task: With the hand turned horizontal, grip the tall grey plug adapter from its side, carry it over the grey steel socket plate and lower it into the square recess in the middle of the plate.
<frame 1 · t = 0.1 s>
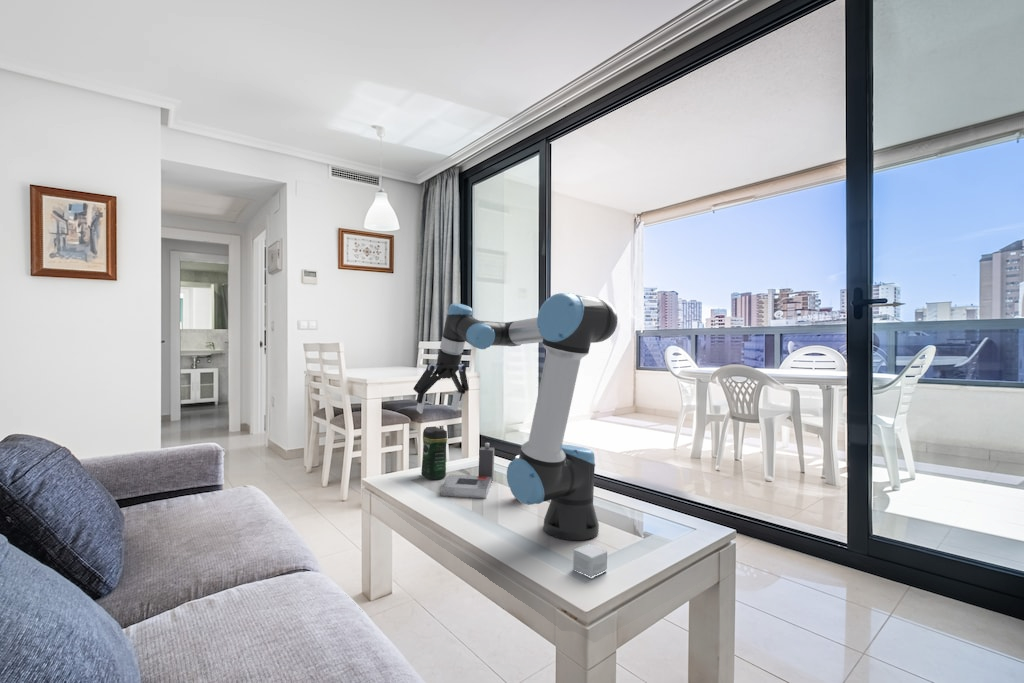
hand: (437, 410, 162), 28 cm above the table, tool tilted 20°, fingers open, 13 cm apart
small box: (589, 572, 110), on the table
socket plate: (467, 490, 167), on the table
coffee jar: (433, 477, 182), on the table
plug: (485, 481, 178), on the table
paper cup: (524, 499, 159), on the table
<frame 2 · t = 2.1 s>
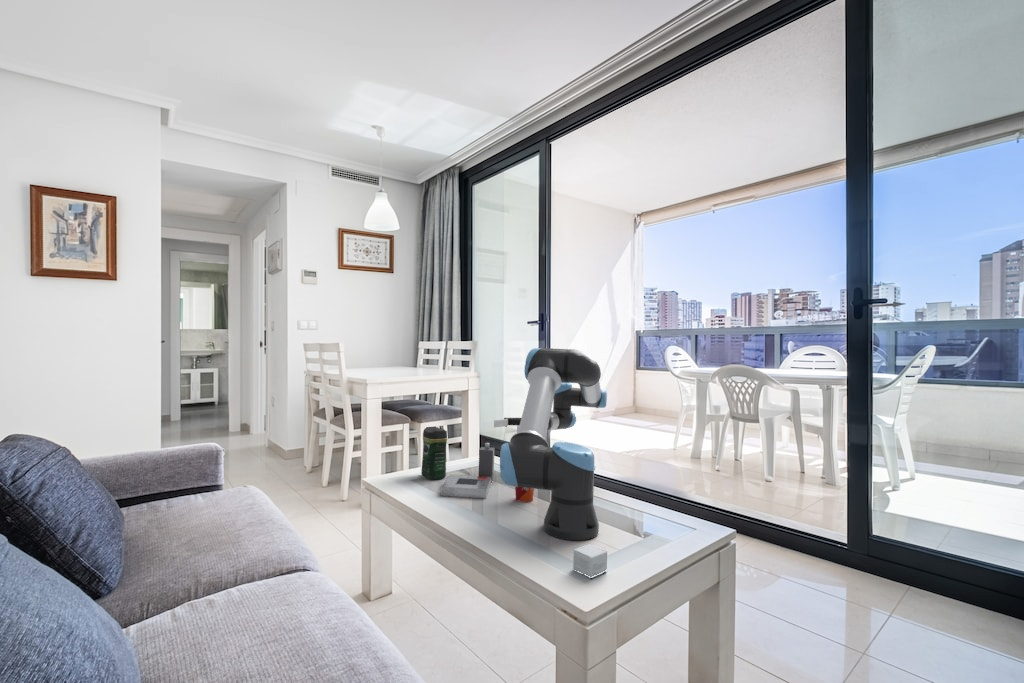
hand: (505, 426, 184), 19 cm above the table, tool horizontal, fingers open, 13 cm apart
nothing on the table moved.
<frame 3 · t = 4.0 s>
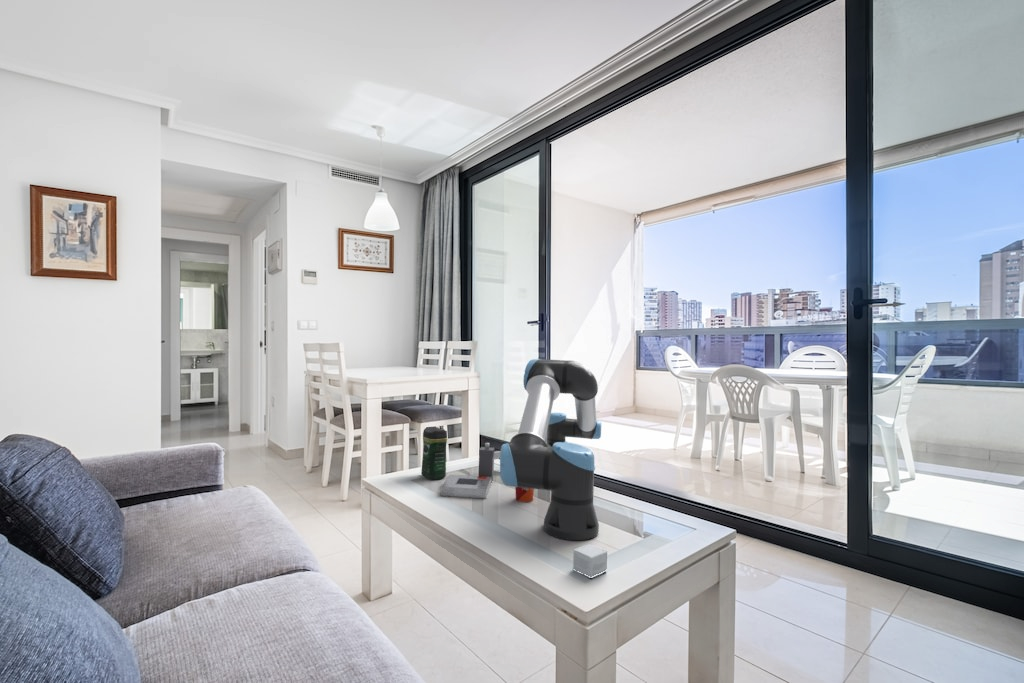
hand: (498, 460, 182), 7 cm above the table, tool horizontal, fingers open, 13 cm apart
nothing on the table moved.
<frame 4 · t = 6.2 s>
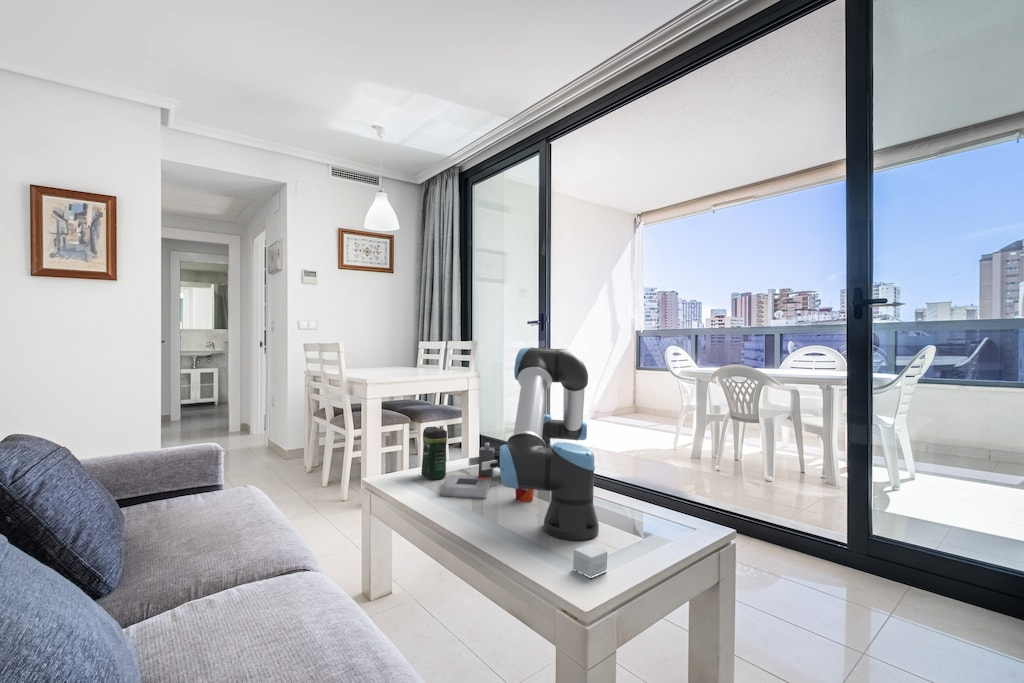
hand: (475, 464, 175), 7 cm above the table, tool horizontal, fingers closed on plug, 7 cm apart
plug: (485, 481, 178), on the table, touching gripper
everything else where it was.
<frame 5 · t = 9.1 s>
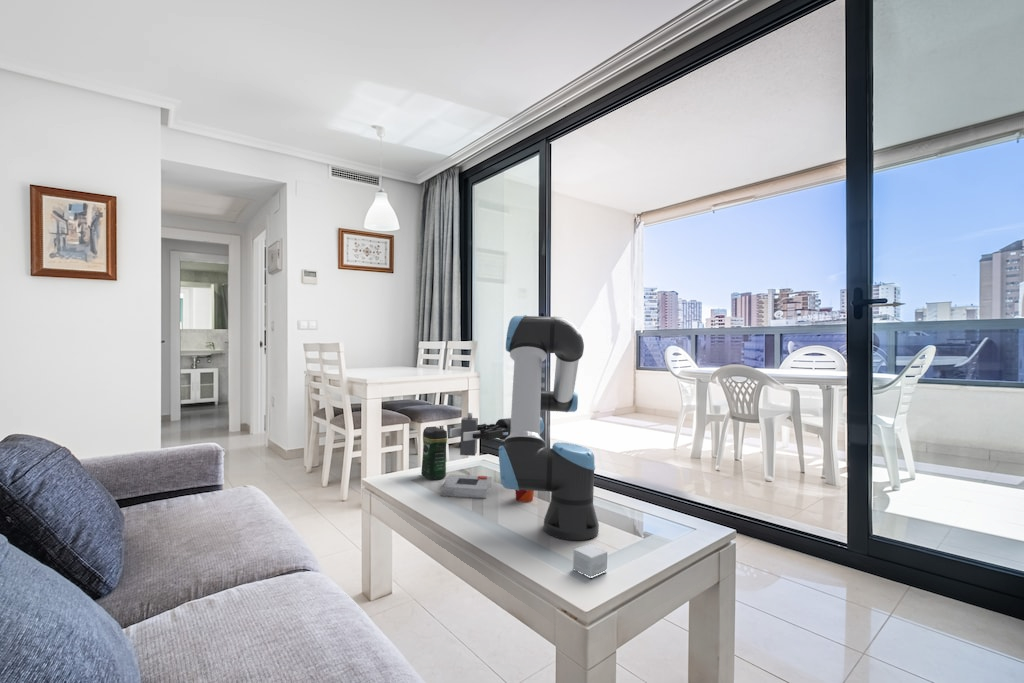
hand: (457, 434, 163), 20 cm above the table, tool horizontal, fingers closed on plug, 7 cm apart
plug: (468, 453, 167), point 13 cm above the table, touching gripper
everything else where it was.
when the fingers open (8 cm above the table, at t = 11.9 s): plug drops 1 cm, resting on socket plate.
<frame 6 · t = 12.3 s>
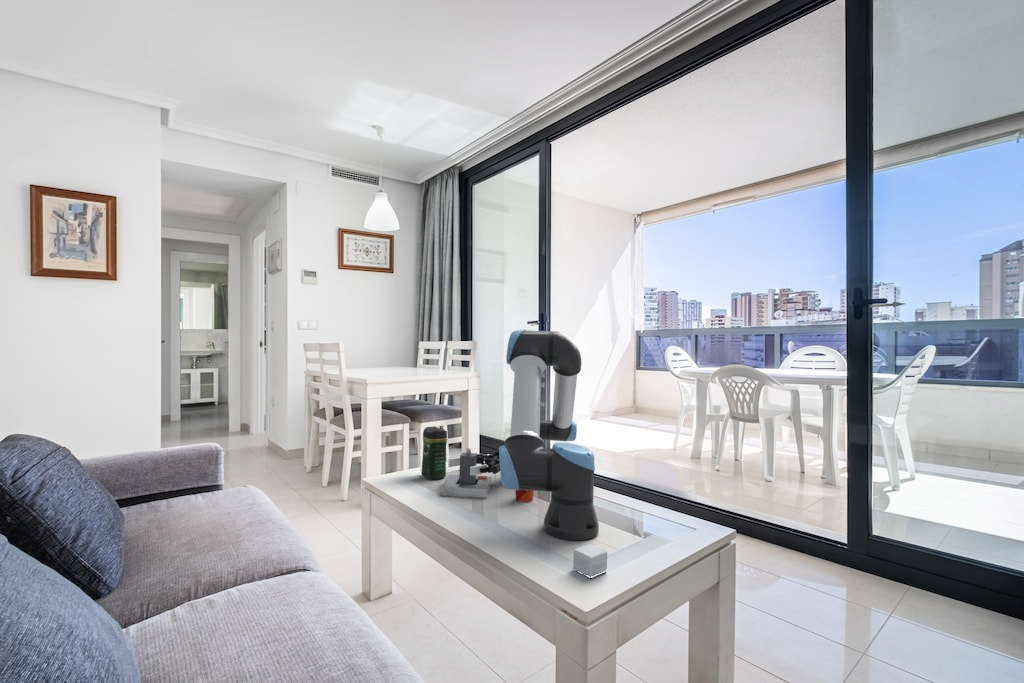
hand: (459, 467, 164), 8 cm above the table, tool horizontal, fingers open, 12 cm apart
plug: (467, 489, 167), resting on socket plate
everything else where it was.
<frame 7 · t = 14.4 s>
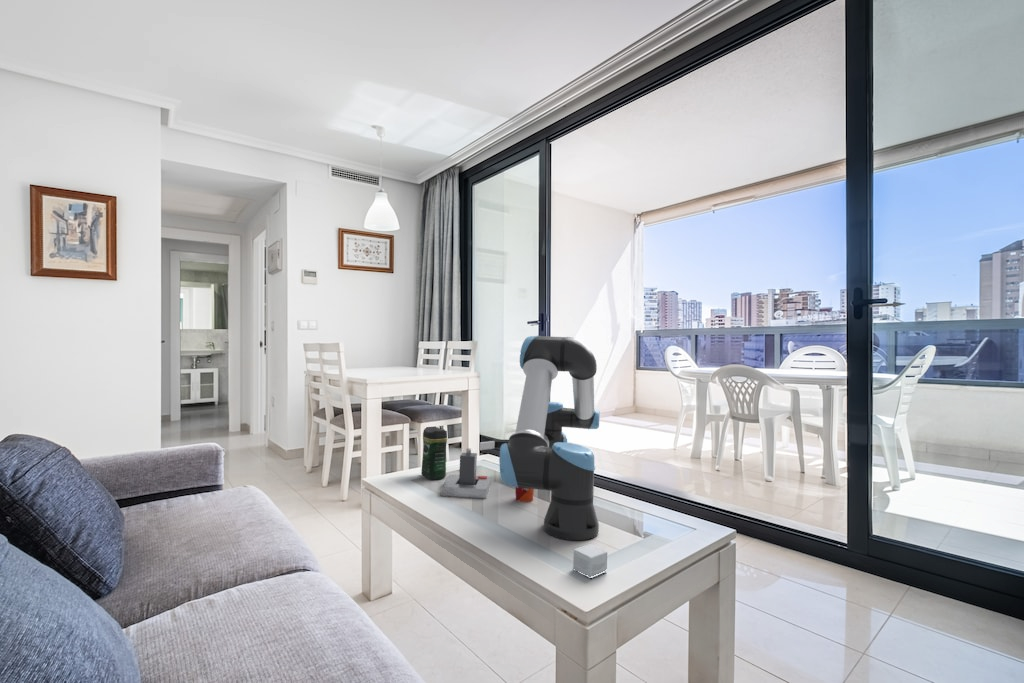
hand: (491, 449, 173), 13 cm above the table, tool horizontal, fingers open, 13 cm apart
nothing on the table moved.
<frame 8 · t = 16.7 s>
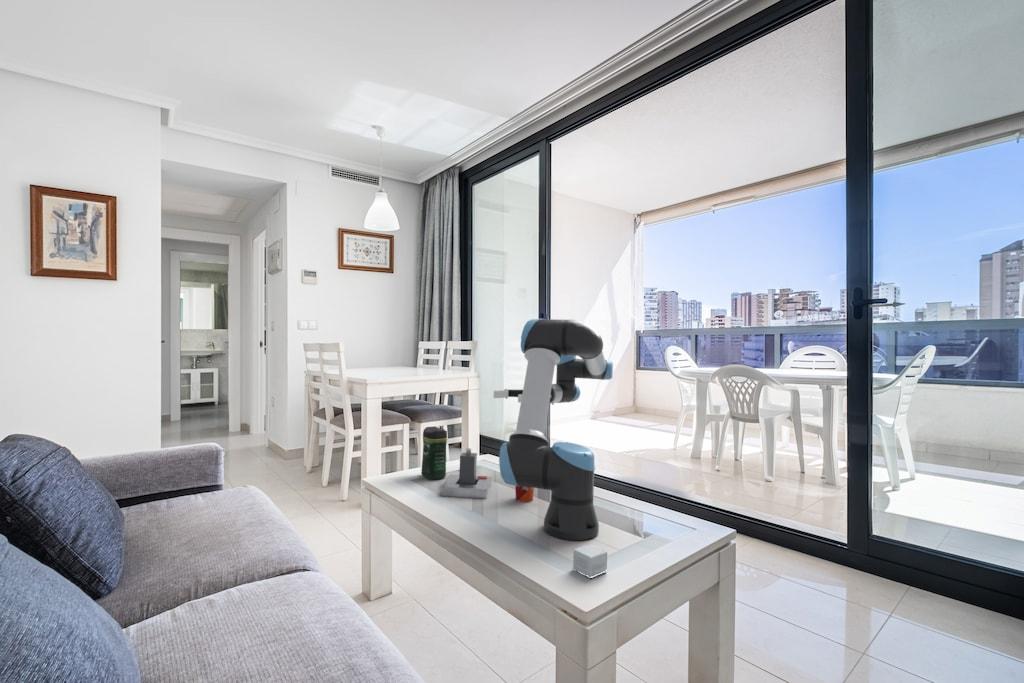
hand: (506, 396, 173), 32 cm above the table, tool horizontal, fingers open, 13 cm apart
nothing on the table moved.
at the end: plug 0.1 cm off-centre on the socket plate, point 0.3 cm above the socket plate's base; plug tilted 0°; the gripper is holding nothing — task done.
